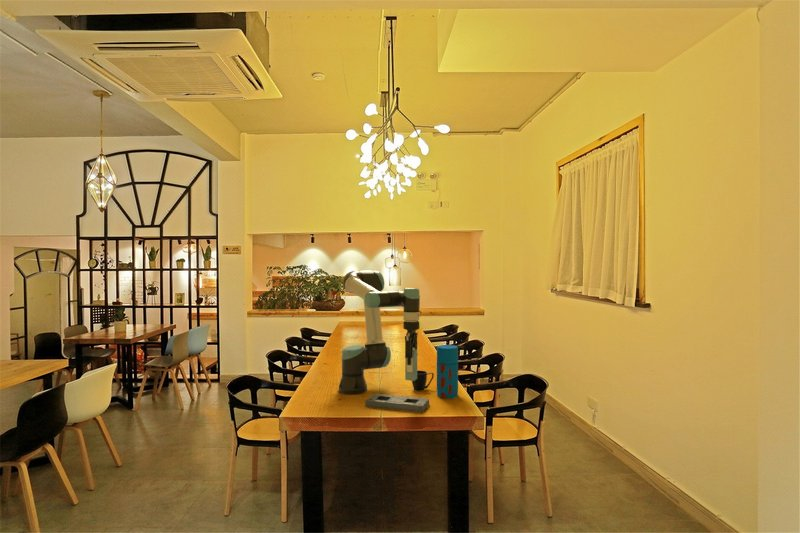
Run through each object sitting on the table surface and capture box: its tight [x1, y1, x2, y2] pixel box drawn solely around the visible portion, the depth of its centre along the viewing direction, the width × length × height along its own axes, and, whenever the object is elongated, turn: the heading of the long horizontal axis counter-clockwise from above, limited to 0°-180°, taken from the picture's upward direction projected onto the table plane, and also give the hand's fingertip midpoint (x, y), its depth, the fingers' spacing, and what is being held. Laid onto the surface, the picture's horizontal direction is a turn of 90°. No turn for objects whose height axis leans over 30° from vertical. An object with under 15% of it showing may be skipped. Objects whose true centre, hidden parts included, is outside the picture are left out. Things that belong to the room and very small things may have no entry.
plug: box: [404, 348, 418, 382], centre depth 212 cm, size 4×4×15 cm
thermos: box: [436, 344, 459, 400], centre depth 231 cm, size 11×11×25 cm
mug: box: [411, 369, 435, 392], centre depth 242 cm, size 8×12×10 cm
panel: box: [364, 393, 430, 414], centre depth 214 cm, size 28×12×3 cm, turn 72°
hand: (411, 370), depth 212 cm, fingers closed on plug, 4 cm apart
